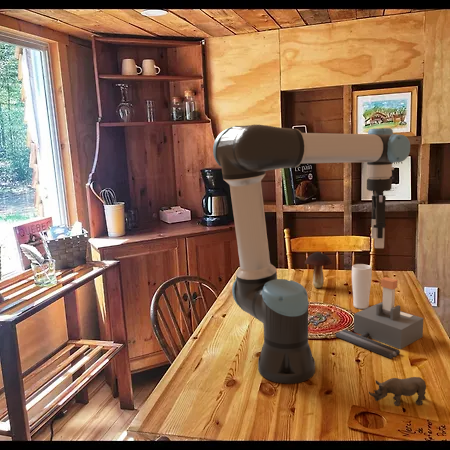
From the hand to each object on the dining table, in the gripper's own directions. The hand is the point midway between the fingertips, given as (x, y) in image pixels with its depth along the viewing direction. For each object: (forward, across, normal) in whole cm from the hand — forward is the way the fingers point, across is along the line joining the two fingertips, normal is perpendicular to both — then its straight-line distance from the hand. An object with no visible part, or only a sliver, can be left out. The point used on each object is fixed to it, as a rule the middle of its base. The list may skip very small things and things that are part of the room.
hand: (377, 243), depth 145 cm
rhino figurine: (+26, -49, -1) cm, 56 cm away
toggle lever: (+18, -13, -3) cm, 23 cm away
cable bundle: (+26, -20, +3) cm, 33 cm away
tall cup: (+26, +9, +4) cm, 28 cm away
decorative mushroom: (+26, +28, +20) cm, 43 cm away
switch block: (+26, -13, -3) cm, 29 cm away
